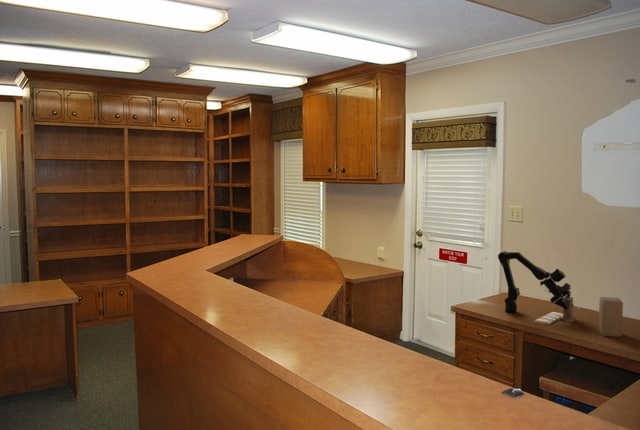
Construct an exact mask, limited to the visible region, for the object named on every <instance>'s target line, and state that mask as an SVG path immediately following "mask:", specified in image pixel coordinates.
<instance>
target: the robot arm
mask: <svg viewBox="0 0 640 430" xmlns="http://www.w3.org/2000/svg"><path fill="white" fill-rule="evenodd" d="M497 259H498V261H499V263H500V264H501V266H502V268H503V272H504V276H505V280H506V285H507V297H506V298H505V299H504V303H505V306H504V307H505V308H504V310H505V311H504V312H505V313H513V314H514V313H516V312H517V311H518V310H517V307H518V306H517V305H518V304H517V302H516V301H517V300H518V299H519V298H520V295H521V292H520V287H517V286H516V285H515V281H514V278H513V277H514V276H513V273H512V270H511V263H510V262H511V260H515V259H516V261H518V262H519V263H521V265H523V266H524V267H526V269H528V270H529V271H530V272H531V273H532V275H533V276H534V278H536V280H539V282H540V283H539V286H543V285H544V287H545V288H546V289H547V290H548V293H550V294H552V297H550V300H549V301H550V303H551V304H554V305H557V306H558V307H561V308H562V309H563V308H564V309H566V310H567V309H568V307H567V306H566V304H565V303H564V302H563V301H564V299H563V298H564V297H571V295H572V294H571V293H572V292H571V290H572V288H571V285H570V283H567V282H565V283H564V284H563V285H561V286H560V285H559V284H557V283H560V282H561V281H562V280H563V279H565V278H567V276H566V274H565V273H564V272H563V271H561V270H560V269H559V268H556V269H555V270H554V271H553V272H548V271H547V270H544V269H543V268H541V267H539V266H537V265H535V264H534V263H533V262H531V261H530V260H529V259H528V258H527V257H525V256H524V255H523V254H522V253H521V252H519V251H511V252H508V251H506V250H504V251H500V252H499V253H498V255H497ZM574 306H575V305H574V304H573V307H574Z"/></svg>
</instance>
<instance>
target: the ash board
mask: <svg viewBox="0 0 640 430" xmlns="http://www.w3.org/2000/svg"><path fill="white" fill-rule="evenodd" d="M561 316H563V312H561V313H560V312H555V311H551V312H550V313H546V314H545V315H543V316H541V317H539V318H537V319H535V320H534V323H537V324H542V325H546V326H549V325H551V324H553V323H555V322H557V321H560V317H561Z"/></svg>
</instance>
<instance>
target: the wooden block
mask: <svg viewBox="0 0 640 430" xmlns="http://www.w3.org/2000/svg"><path fill="white" fill-rule="evenodd" d="M598 305H599V308H598V310H599V311H598V332H599V333H600V335H601V336H602V337H614V338H621V337H622V334H623V332H622V331H623V312H624V311H623V310H624V309H623V308H624V307H623V306H624V302H623V301H622V300H621V299H620V298H619V297H609V296H600V297H599V303H598Z"/></svg>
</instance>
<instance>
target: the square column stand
mask: <svg viewBox="0 0 640 430" xmlns="http://www.w3.org/2000/svg"><path fill="white" fill-rule="evenodd" d="M563 299H564V301H563V302H564V303H565V304H566V306H567V307H568V309H567V310H566V309H564V308H562V309H563V311H562V314H563V316H561V317H560V319H559V321H561V322H567V323H570V324H572V323H573V322H575V321H577V317H576V316H573V311H574V310H573V309H574V308H573V307H574V306H573V305H574V297H571V296H570V297H564V298H563Z"/></svg>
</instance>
